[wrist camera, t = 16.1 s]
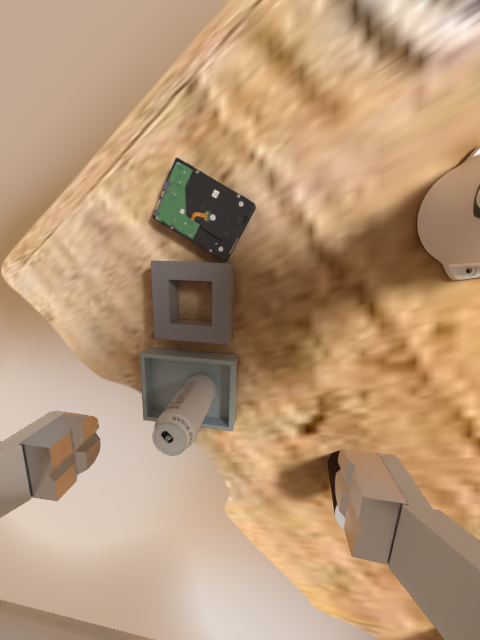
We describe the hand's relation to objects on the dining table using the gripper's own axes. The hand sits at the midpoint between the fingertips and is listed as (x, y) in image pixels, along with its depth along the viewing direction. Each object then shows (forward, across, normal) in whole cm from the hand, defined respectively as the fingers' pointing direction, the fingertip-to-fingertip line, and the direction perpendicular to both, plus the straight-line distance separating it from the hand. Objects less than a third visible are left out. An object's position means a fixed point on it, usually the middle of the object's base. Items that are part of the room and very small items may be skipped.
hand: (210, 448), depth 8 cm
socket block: (+35, +12, 0) cm, 37 cm away
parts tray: (+35, +13, +17) cm, 41 cm away
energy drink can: (+34, +11, +17) cm, 40 cm away
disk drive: (+36, +11, -15) cm, 40 cm away
